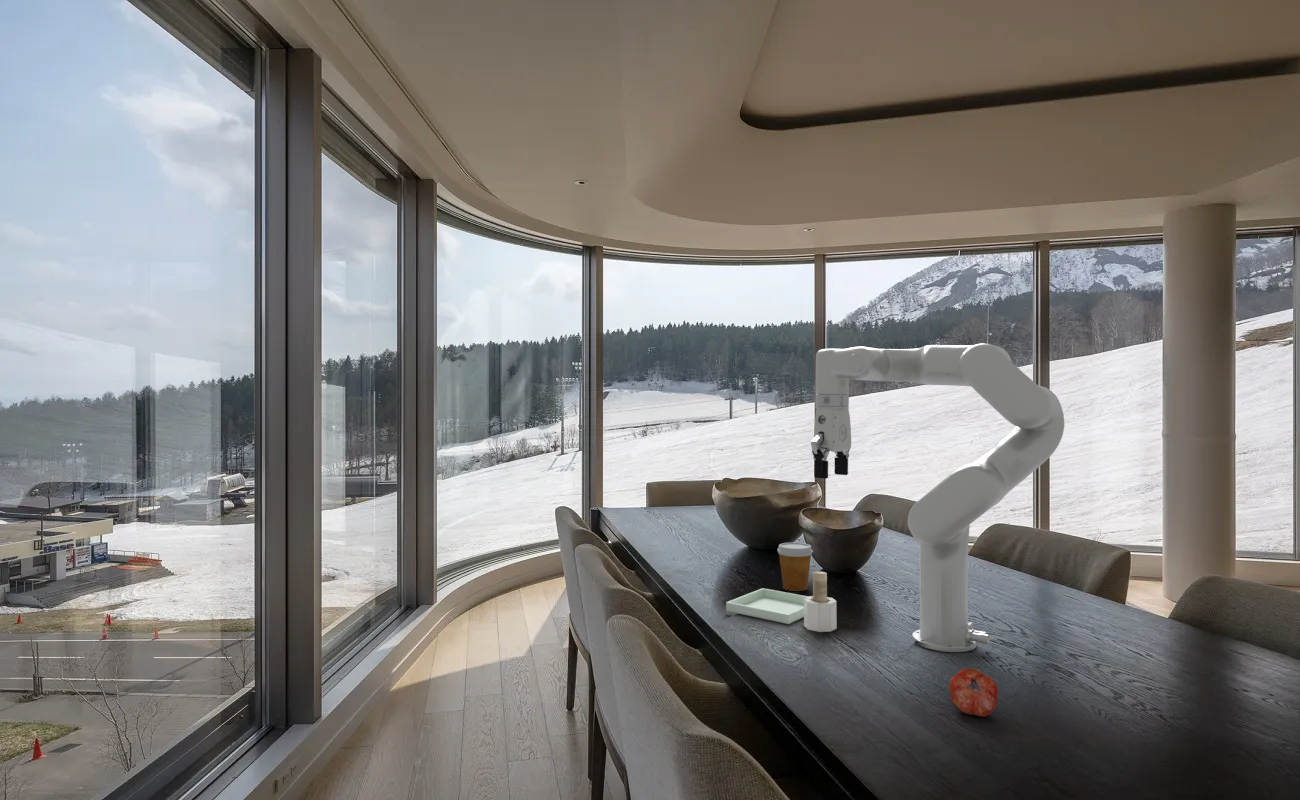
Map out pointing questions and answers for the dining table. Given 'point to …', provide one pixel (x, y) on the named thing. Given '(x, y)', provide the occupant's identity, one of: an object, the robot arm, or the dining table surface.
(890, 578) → the dining table surface
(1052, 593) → the dining table surface
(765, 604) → the tray
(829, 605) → the cup holder
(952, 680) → the red tomato
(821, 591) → the wooden pin
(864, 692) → the dining table surface
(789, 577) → the disposable coffee cup
